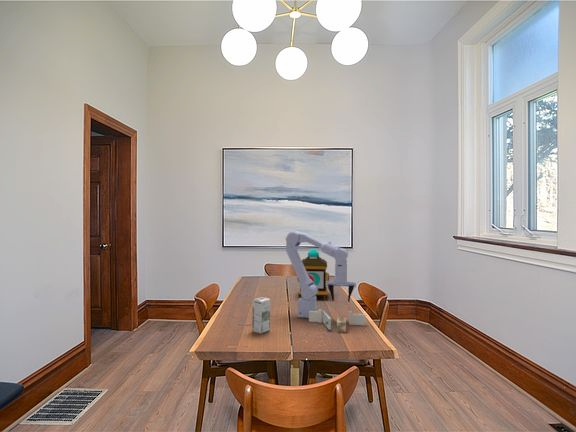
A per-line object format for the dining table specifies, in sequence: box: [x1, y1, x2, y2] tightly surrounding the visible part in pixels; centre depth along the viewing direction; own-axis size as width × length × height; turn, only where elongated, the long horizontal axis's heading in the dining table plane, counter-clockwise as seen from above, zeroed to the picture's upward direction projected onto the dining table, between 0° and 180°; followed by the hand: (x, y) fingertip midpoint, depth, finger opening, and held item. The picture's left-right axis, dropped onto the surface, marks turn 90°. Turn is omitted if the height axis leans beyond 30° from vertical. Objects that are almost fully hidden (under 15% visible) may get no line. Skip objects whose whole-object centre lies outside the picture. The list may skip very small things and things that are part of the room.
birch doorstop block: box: [336, 316, 347, 333], centre depth 154 cm, size 4×8×4 cm, turn 170°
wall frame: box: [308, 308, 366, 326], centre depth 161 cm, size 27×2×6 cm, turn 78°
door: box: [322, 310, 332, 331], centre depth 157 cm, size 11×2×5 cm, turn 8°
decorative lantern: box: [296, 248, 331, 301], centre depth 210 cm, size 20×20×30 cm
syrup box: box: [251, 296, 271, 335], centre depth 151 cm, size 6×6×14 cm
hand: (340, 300), depth 166 cm, fingers open, 7 cm apart
